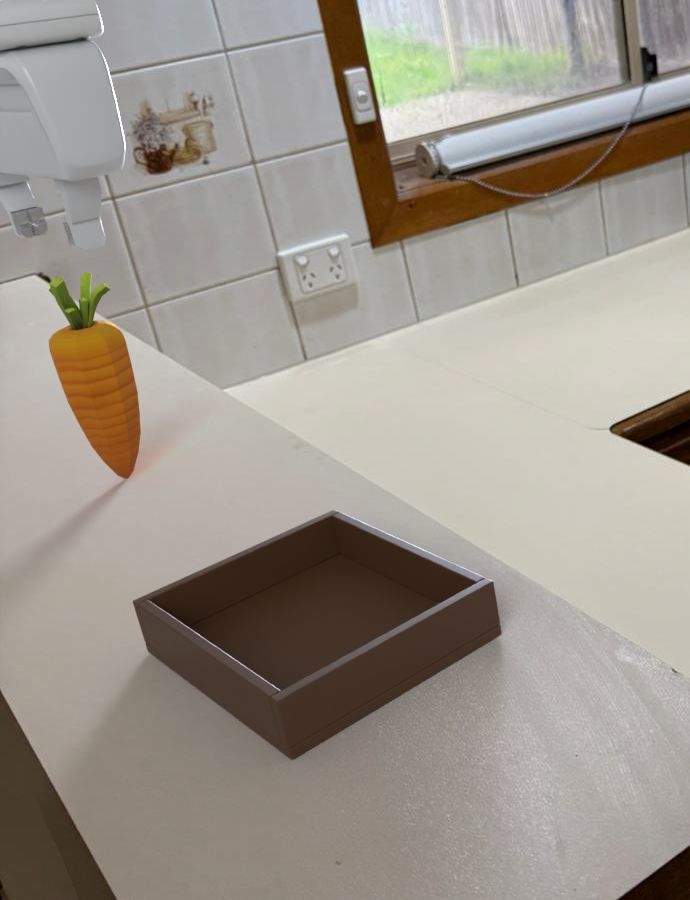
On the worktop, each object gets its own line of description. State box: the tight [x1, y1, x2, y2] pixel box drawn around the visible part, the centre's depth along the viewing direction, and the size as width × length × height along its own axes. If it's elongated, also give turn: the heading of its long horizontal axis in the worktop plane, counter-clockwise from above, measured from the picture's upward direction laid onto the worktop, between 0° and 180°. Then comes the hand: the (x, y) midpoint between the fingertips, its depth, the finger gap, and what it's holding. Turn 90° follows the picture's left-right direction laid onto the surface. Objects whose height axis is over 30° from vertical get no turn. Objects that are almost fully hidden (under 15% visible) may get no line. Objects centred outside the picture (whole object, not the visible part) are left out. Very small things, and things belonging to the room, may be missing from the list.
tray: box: [132, 509, 502, 760], centre depth 58 cm, size 14×12×3 cm
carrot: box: [48, 271, 141, 480], centre depth 78 cm, size 5×5×15 cm
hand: (60, 241), depth 74 cm, fingers open, 8 cm apart
